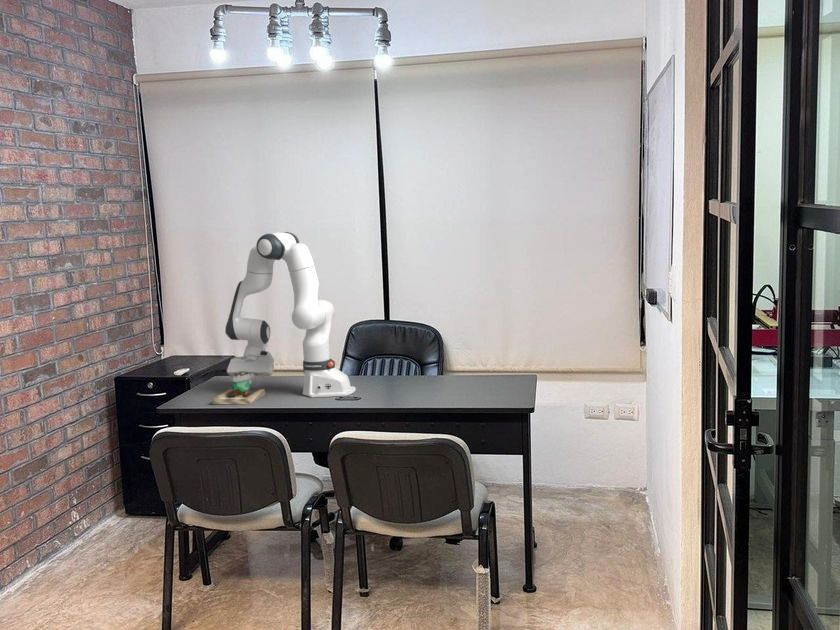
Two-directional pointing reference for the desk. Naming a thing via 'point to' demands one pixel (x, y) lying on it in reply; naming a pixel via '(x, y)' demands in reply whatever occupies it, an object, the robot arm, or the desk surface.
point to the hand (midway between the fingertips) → (246, 383)
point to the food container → (242, 384)
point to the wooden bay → (225, 398)
